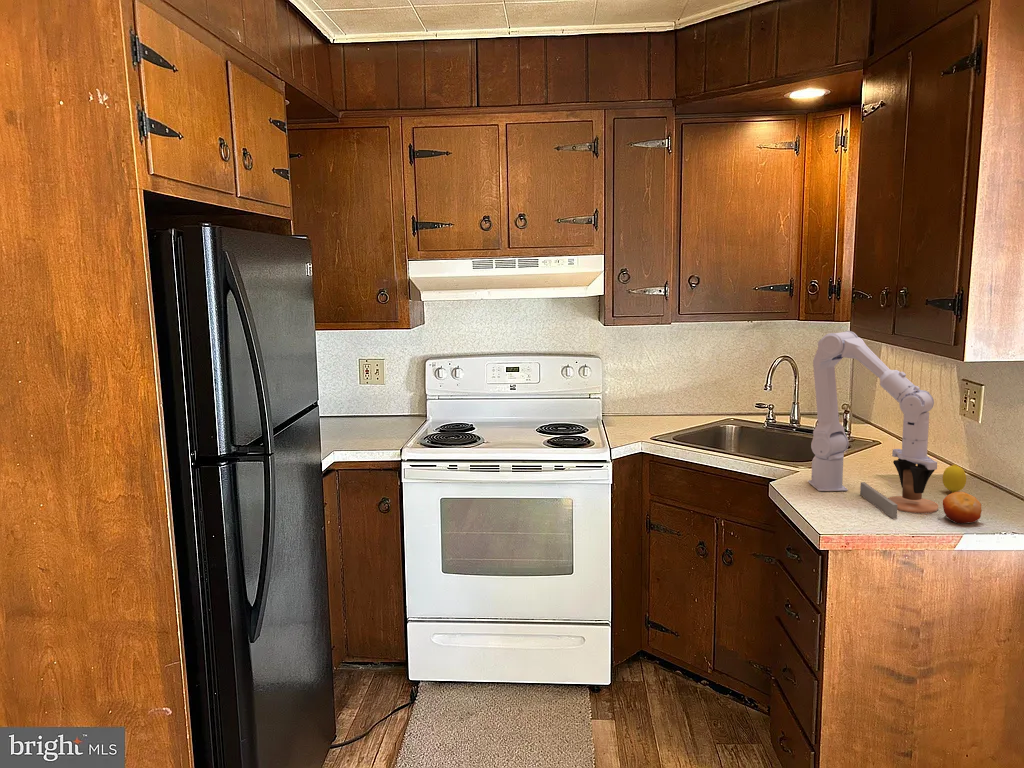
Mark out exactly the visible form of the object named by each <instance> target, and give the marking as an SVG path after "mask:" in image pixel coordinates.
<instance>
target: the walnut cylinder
mask: <svg viewBox="0 0 1024 768" xmlns="http://www.w3.org/2000/svg"><path fill="white" fill-rule="evenodd" d="M901 496H902V497H903V498H905V499H909V500H920V499H922V498H923V497H922V496H923V493H914V488H913V476H912V472H911V470H910V469H904V470H903V488H902V492H901Z"/></svg>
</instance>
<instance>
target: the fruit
mask: <svg viewBox="0 0 1024 768" xmlns="http://www.w3.org/2000/svg"><path fill="white" fill-rule="evenodd" d="M942 509H943V513H944V514H945V515H944V518H945V517H947V519H948V520H950V521H951V522H954V523H955V524H958V523H960V525H961V524H970V523H975V522H977V521H978V520H980V519H981V516H982V511H983V510H982V504H981V502H980V501H979V500H978V498H976V497H975V496H973V495H972V494H969V493H967V492H964V491H957V492H954V493H952V492H951V493H949V494H947V495H946V496H945V497H944V498H942Z"/></svg>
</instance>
